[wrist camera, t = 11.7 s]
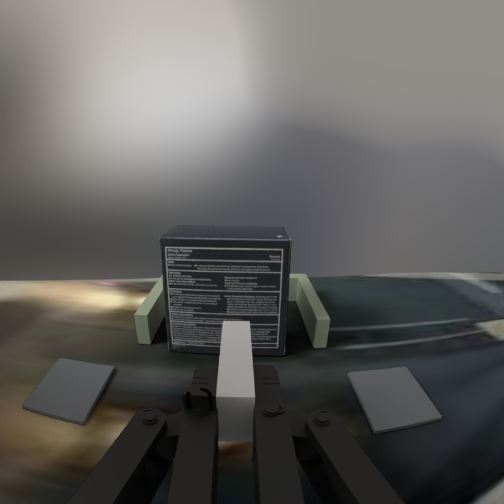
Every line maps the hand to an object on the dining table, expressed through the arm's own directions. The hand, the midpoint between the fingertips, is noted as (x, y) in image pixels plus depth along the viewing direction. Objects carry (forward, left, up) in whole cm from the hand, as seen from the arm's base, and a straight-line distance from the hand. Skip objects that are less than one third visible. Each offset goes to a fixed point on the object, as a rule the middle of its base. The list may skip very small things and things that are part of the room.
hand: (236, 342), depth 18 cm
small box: (-1, +11, -6) cm, 13 cm away
